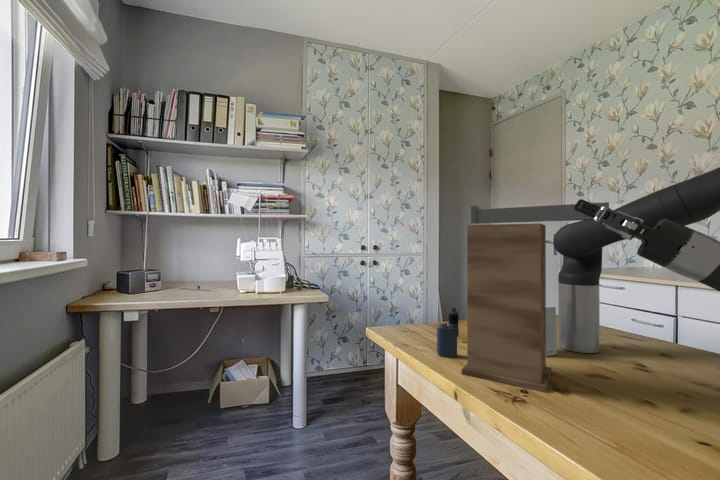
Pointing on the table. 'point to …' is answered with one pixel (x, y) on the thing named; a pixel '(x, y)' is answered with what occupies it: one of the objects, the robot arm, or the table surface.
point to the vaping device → (448, 336)
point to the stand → (507, 304)
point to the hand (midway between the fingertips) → (577, 204)
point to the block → (530, 214)
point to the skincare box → (551, 331)
